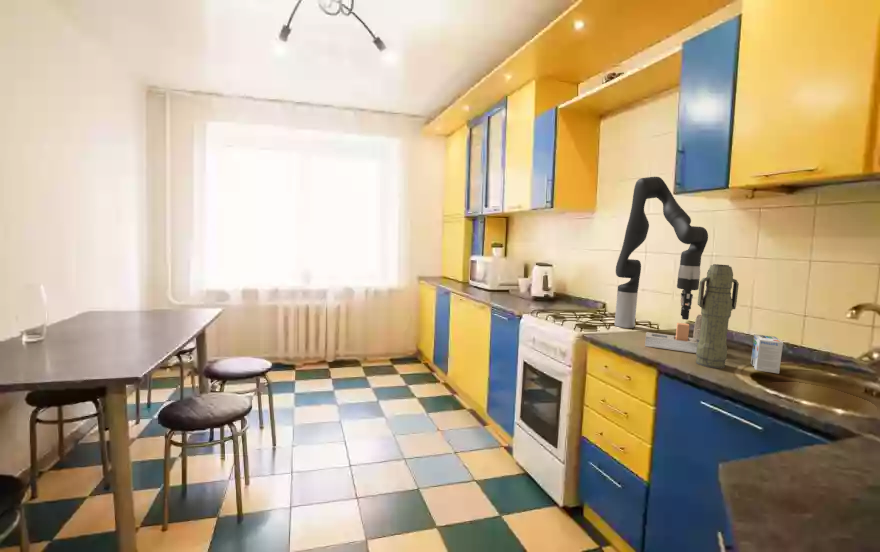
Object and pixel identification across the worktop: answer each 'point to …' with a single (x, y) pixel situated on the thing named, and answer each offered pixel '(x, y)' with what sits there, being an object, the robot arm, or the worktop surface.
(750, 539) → the worktop surface
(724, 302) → the thermos
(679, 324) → the square peg
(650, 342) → the rack rail
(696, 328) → the carving
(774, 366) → the light bulb box
